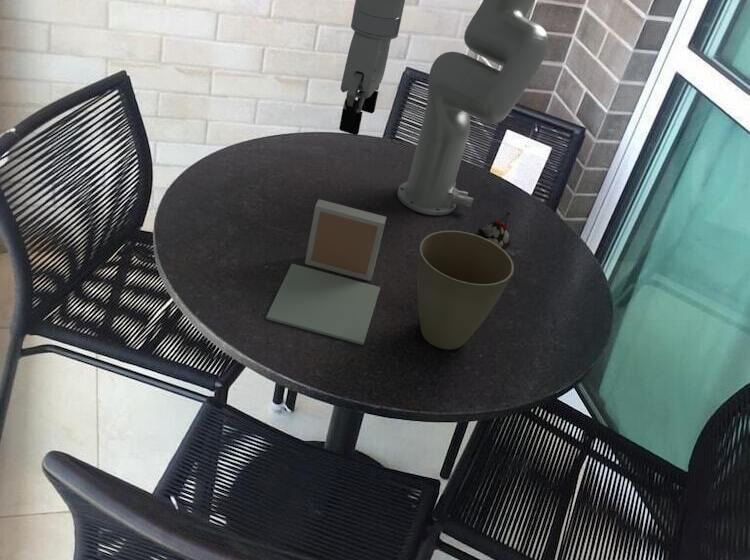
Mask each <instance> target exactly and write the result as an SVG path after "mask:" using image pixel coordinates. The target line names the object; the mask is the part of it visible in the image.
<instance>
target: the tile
mask: <svg viewBox="0 0 750 560" xmlns="http://www.w3.org/2000/svg"><path fill="white" fill-rule="evenodd" d="M312 217H313V218H312V224H311V228H310V232H309V233H310V234H309V239H308V245H307V250H306V255H305V261H304V264H305V265H309V266H312V267H315V268H319V269H323V270H327V271H331V272H335V273H338V274H342V275H346V276H348V277H349V276H350V277H353V278H357V279H361V280H365V281H368V282H371V281H372V277H373V275H374V270H375V266H376V262H377V258H378V254H379V250H380V246H381V242H382V239H383V234H384V229H385V225H386V221H387V216H384V215H382V214H377V213H373V212H369V211H366V210H361V209H357V208H353V207H350V206H346V205H342V204H339V203H335V202H331V201H327V200H323V199H320V198H319V199H317V202H316V203H315V206H314V212H313V216H312Z"/></svg>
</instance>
